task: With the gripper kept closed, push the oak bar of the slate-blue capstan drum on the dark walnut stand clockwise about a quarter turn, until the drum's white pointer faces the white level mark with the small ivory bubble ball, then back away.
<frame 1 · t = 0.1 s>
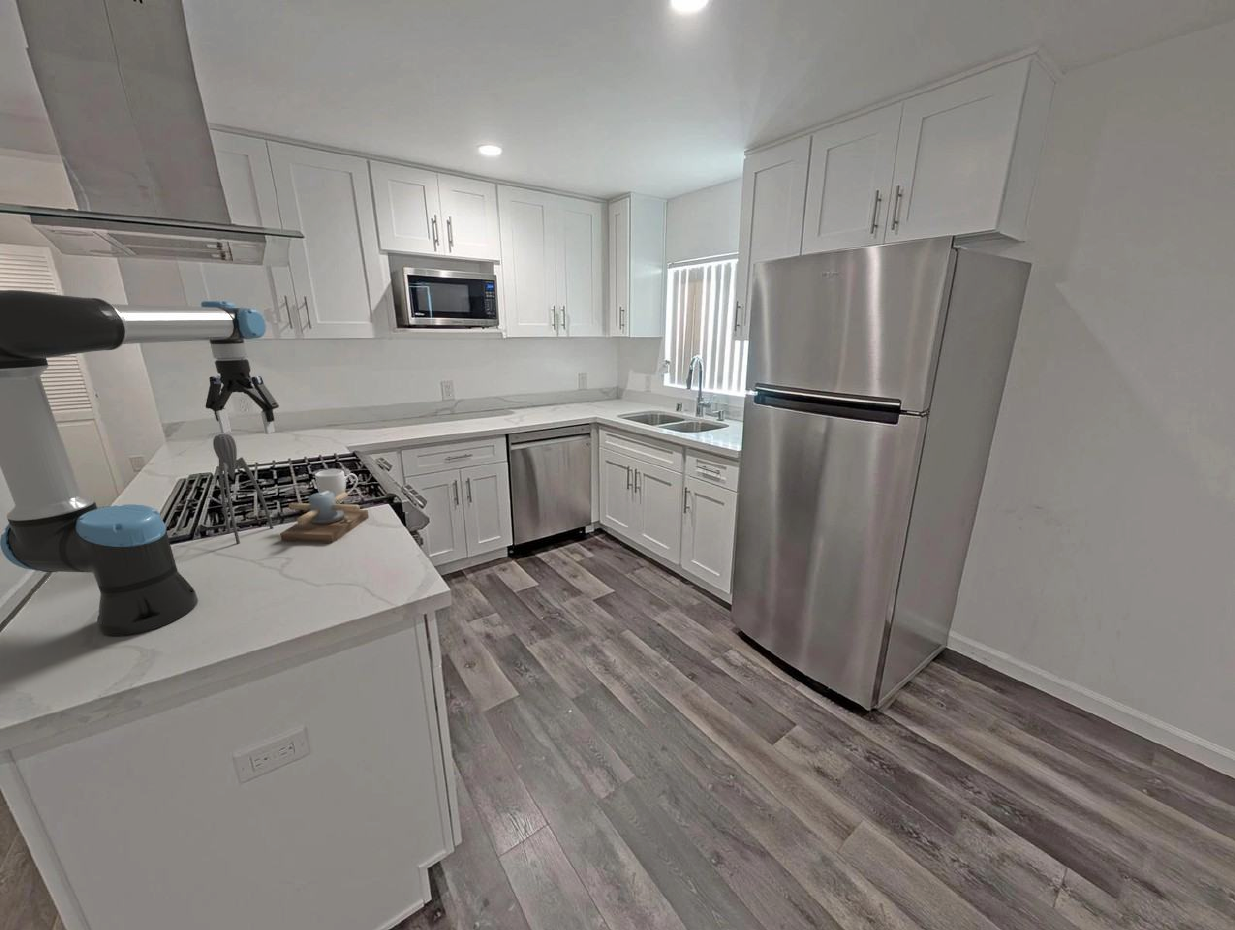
hand: (248, 432, 141), 28 cm above the worktop, fingers open, 13 cm apart
citrus juicer: (242, 534, 139), on the worktop
stand: (327, 528, 143), on the worktop
mug: (341, 504, 162), on the worktop
capstan: (323, 507, 141), point 7 cm above the worktop, hinge at 0.0°
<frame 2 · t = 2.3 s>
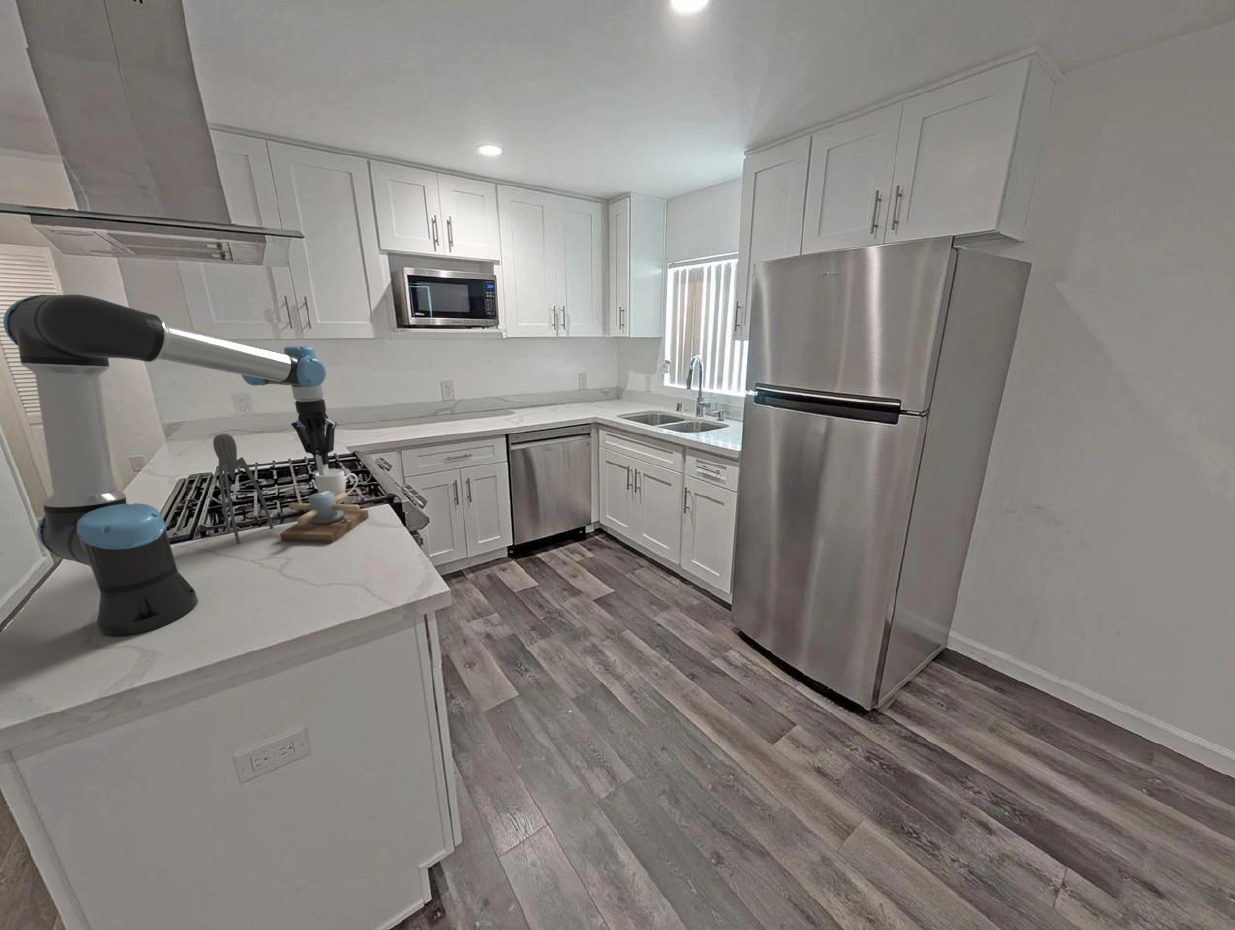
hand: (324, 474, 150), 13 cm above the worktop, fingers closed
nothing on the worktop moved.
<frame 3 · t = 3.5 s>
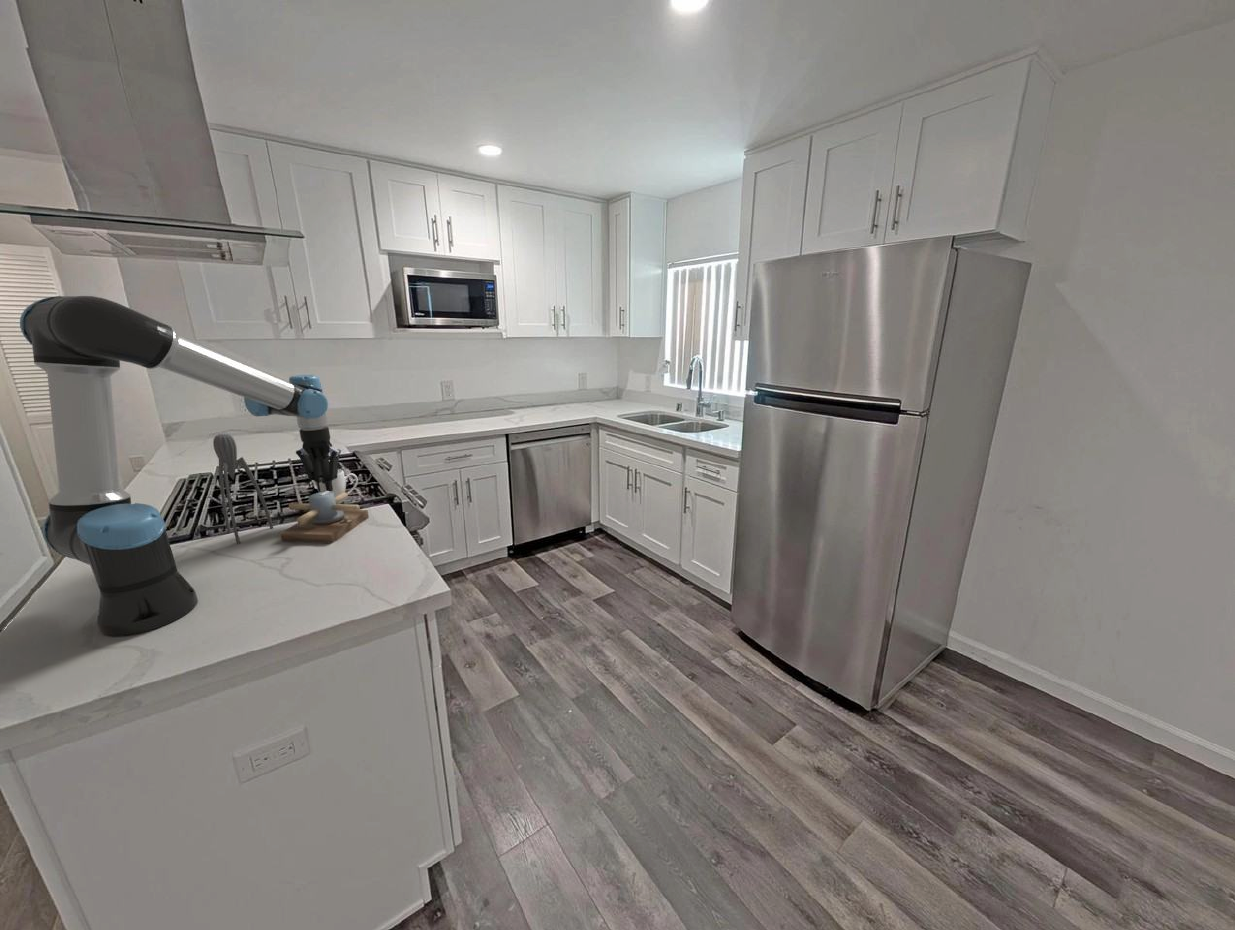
hand: (327, 501, 149), 5 cm above the worktop, fingers closed
nothing on the worktop moved.
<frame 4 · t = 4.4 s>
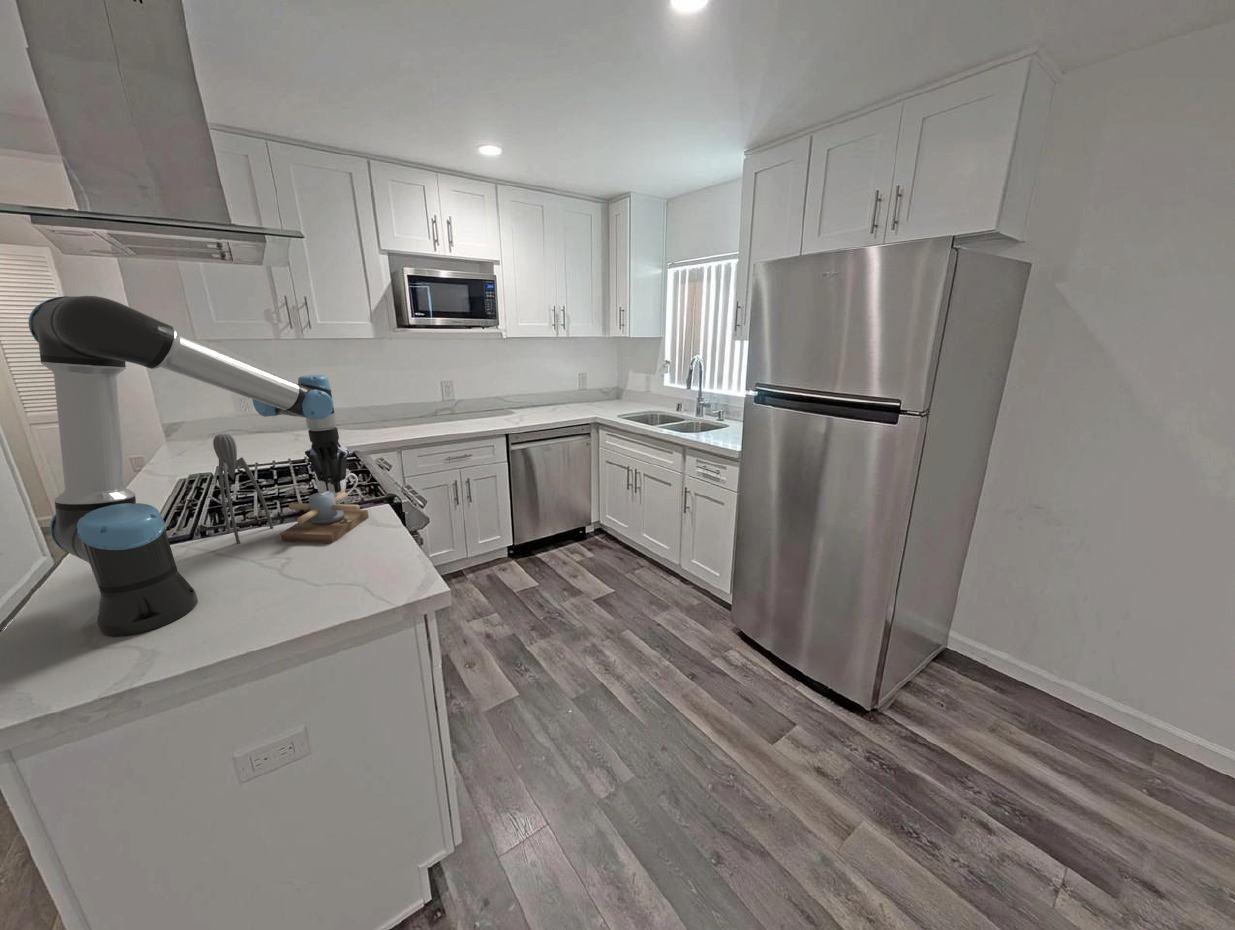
hand: (336, 501, 149), 5 cm above the worktop, fingers closed
capstan: (323, 507, 141), point 7 cm above the worktop, hinge at 0.0°, touching gripper
everything else where it was.
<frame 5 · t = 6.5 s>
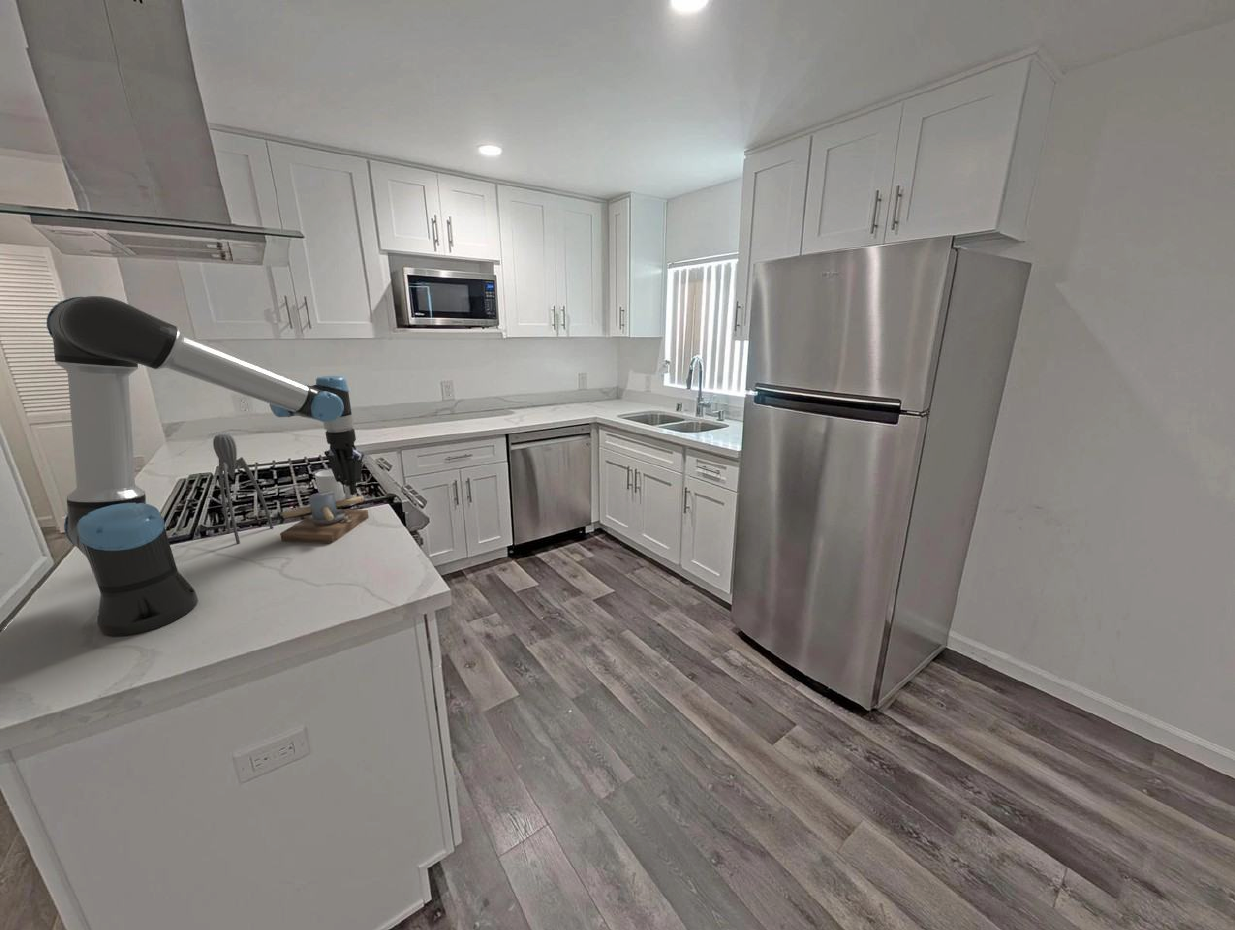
hand: (352, 503, 148), 5 cm above the worktop, fingers closed
capstan: (323, 507, 141), point 7 cm above the worktop, hinge at 46.9°, touching gripper
everything else where it was.
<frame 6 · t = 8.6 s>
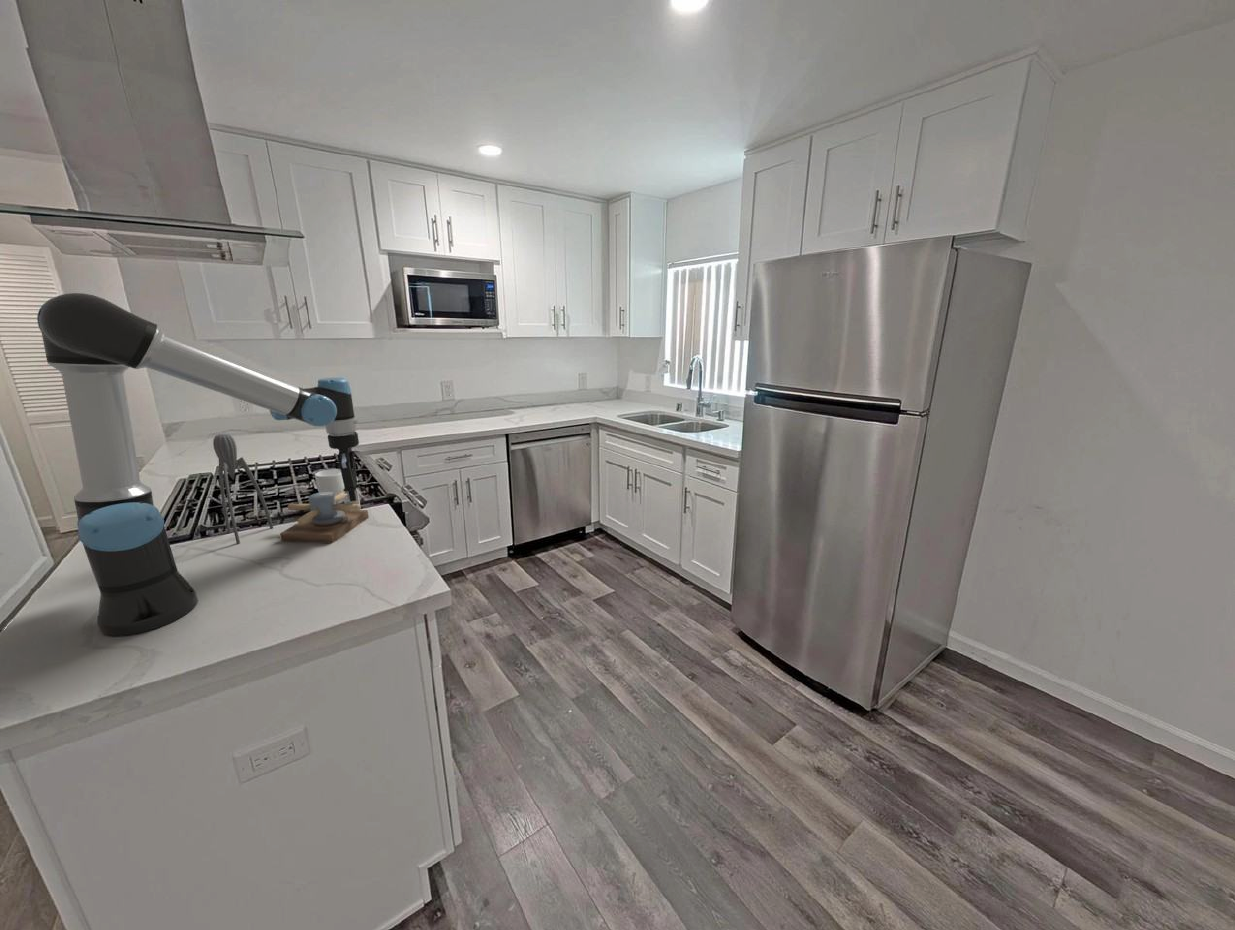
hand: (355, 509, 143), 5 cm above the worktop, fingers closed
capstan: (323, 507, 141), point 7 cm above the worktop, hinge at 87.2°, touching gripper
everything else where it was.
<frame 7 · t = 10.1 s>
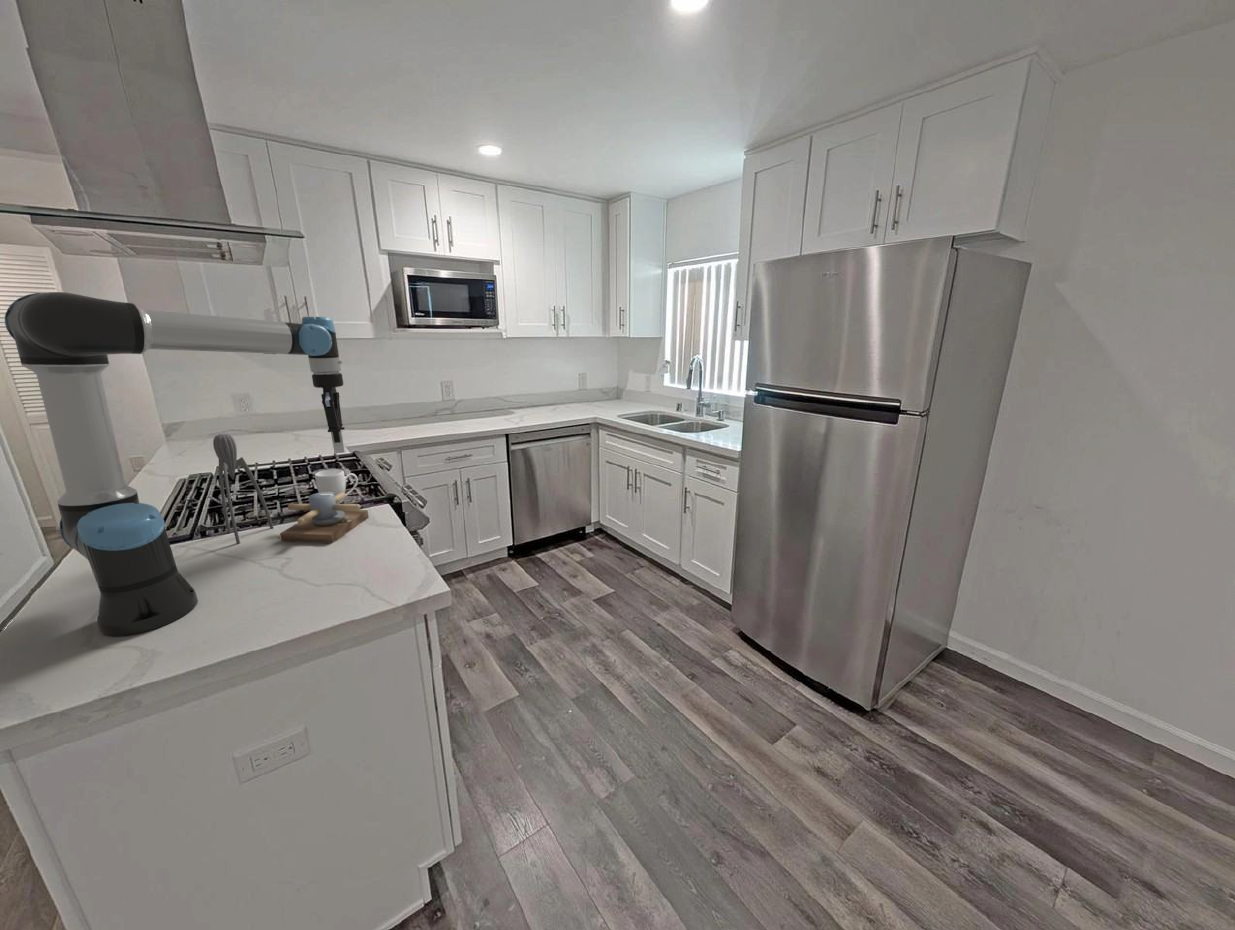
hand: (340, 452, 144), 22 cm above the worktop, fingers closed
capstan: (323, 507, 141), point 7 cm above the worktop, hinge at 87.3°
everything else where it was.
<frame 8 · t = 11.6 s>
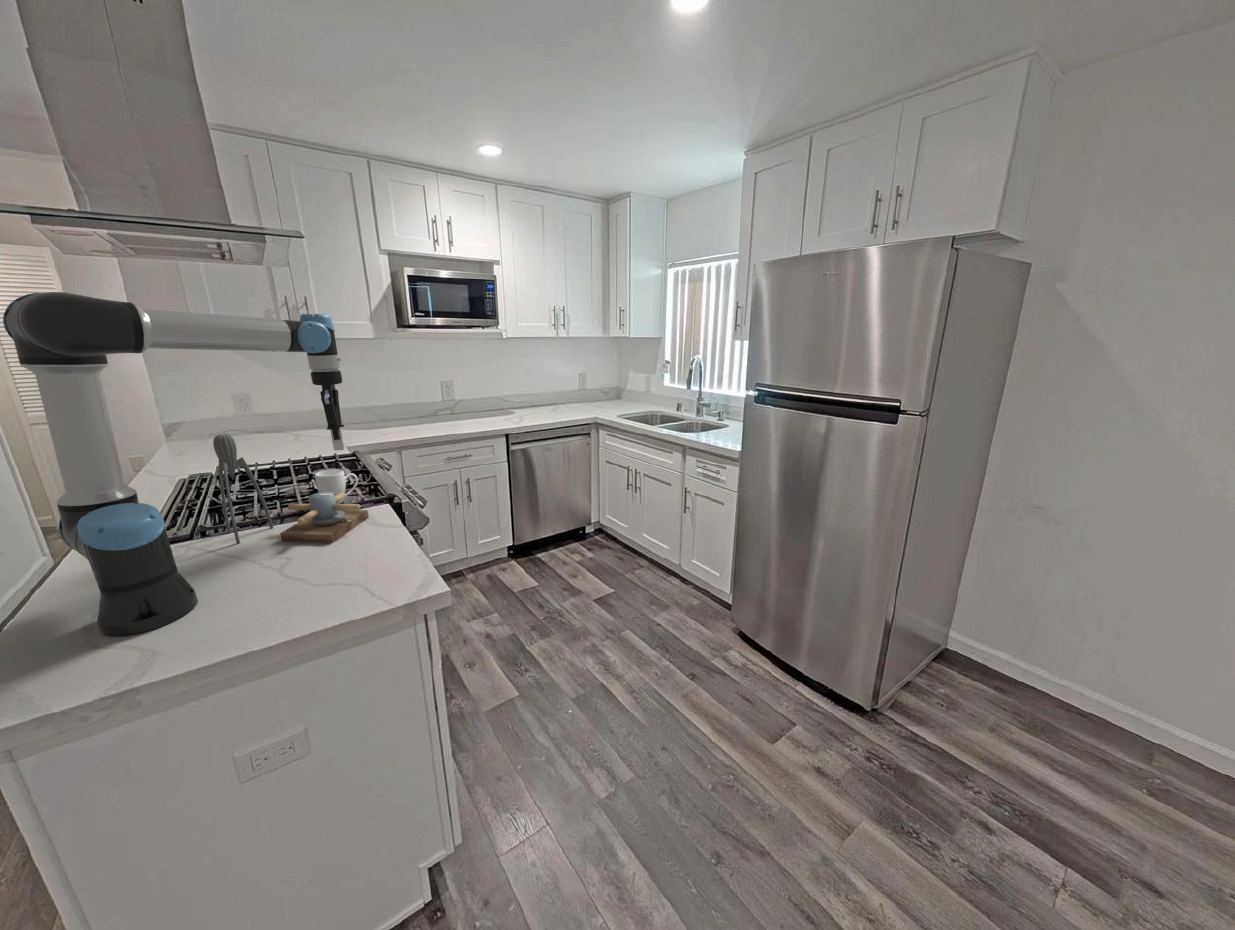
hand: (339, 449, 144), 22 cm above the worktop, fingers closed
nothing on the worktop moved.
at the end: capstan at +87° (first picture: +0°); capstan touching nothing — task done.
